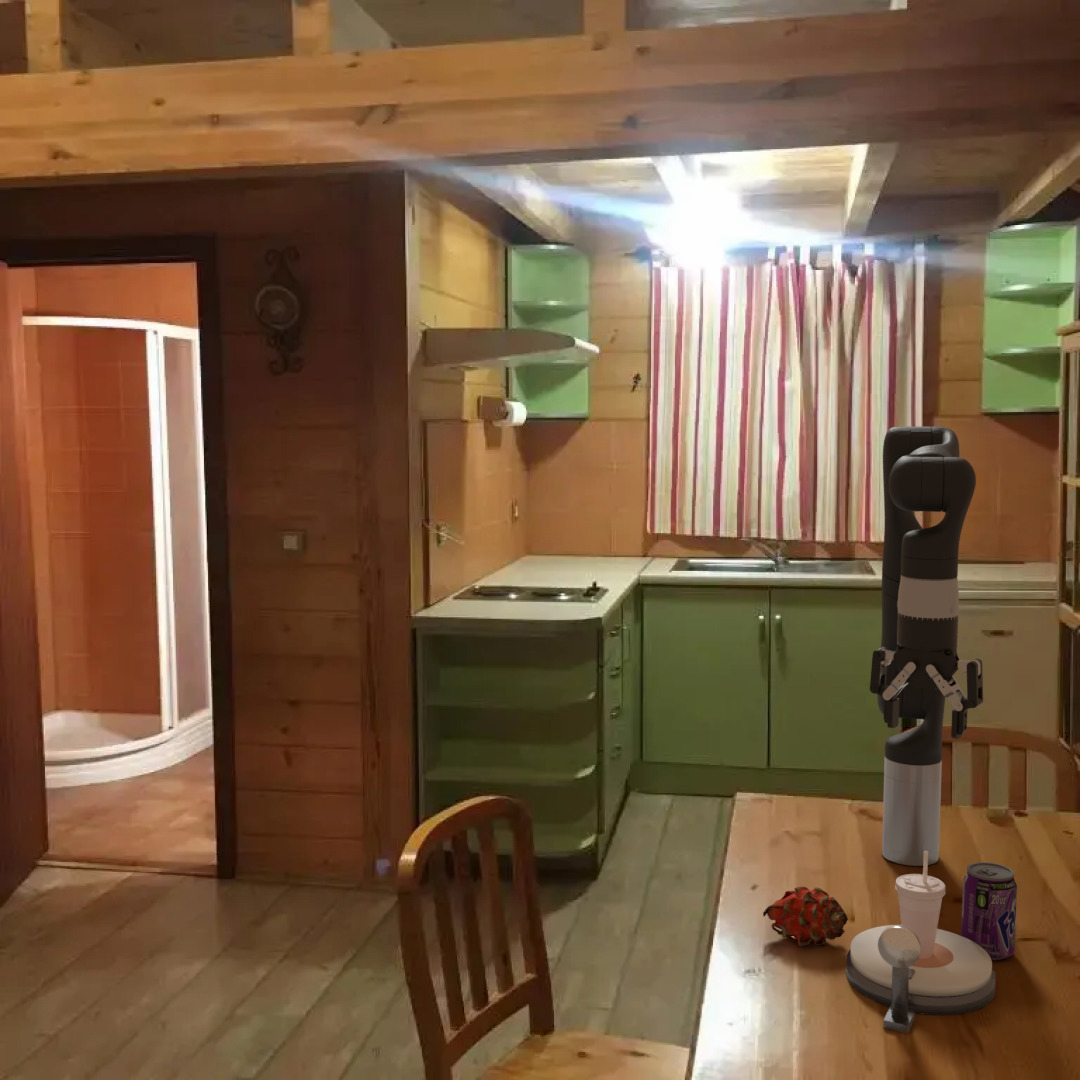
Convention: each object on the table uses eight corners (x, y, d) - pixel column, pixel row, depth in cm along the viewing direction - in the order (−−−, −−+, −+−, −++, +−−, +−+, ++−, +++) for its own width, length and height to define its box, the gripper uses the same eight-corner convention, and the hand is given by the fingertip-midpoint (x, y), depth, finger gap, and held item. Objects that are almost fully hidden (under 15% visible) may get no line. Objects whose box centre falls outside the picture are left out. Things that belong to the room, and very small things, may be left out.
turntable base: (864, 938, 178) (864, 925, 177) (1004, 965, 169) (1004, 951, 169) (830, 994, 161) (830, 980, 161) (983, 1028, 152) (984, 1012, 152)
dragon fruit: (853, 961, 174) (768, 960, 178) (854, 908, 180) (773, 908, 184) (842, 928, 169) (755, 927, 173) (844, 874, 175) (760, 875, 179)
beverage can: (988, 968, 168) (992, 883, 167) (949, 947, 174) (952, 866, 173) (1025, 957, 171) (1029, 874, 170) (985, 937, 178) (988, 857, 176)
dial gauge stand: (884, 1008, 157) (886, 910, 156) (924, 1017, 155) (927, 917, 153) (875, 1025, 153) (877, 925, 151) (916, 1035, 151) (919, 933, 149)
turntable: (867, 925, 177) (867, 913, 177) (1000, 951, 168) (1000, 938, 168) (835, 977, 161) (835, 964, 161) (980, 1008, 153) (981, 994, 152)
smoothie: (946, 965, 161) (950, 862, 159) (895, 961, 162) (898, 859, 160) (939, 943, 167) (943, 844, 165) (890, 940, 168) (893, 841, 166)
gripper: (992, 612, 159) (988, 734, 161) (886, 601, 168) (883, 717, 170) (973, 621, 153) (968, 748, 155) (864, 609, 162) (861, 729, 164)
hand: (924, 731), depth 162 cm, fingers open, 8 cm apart
